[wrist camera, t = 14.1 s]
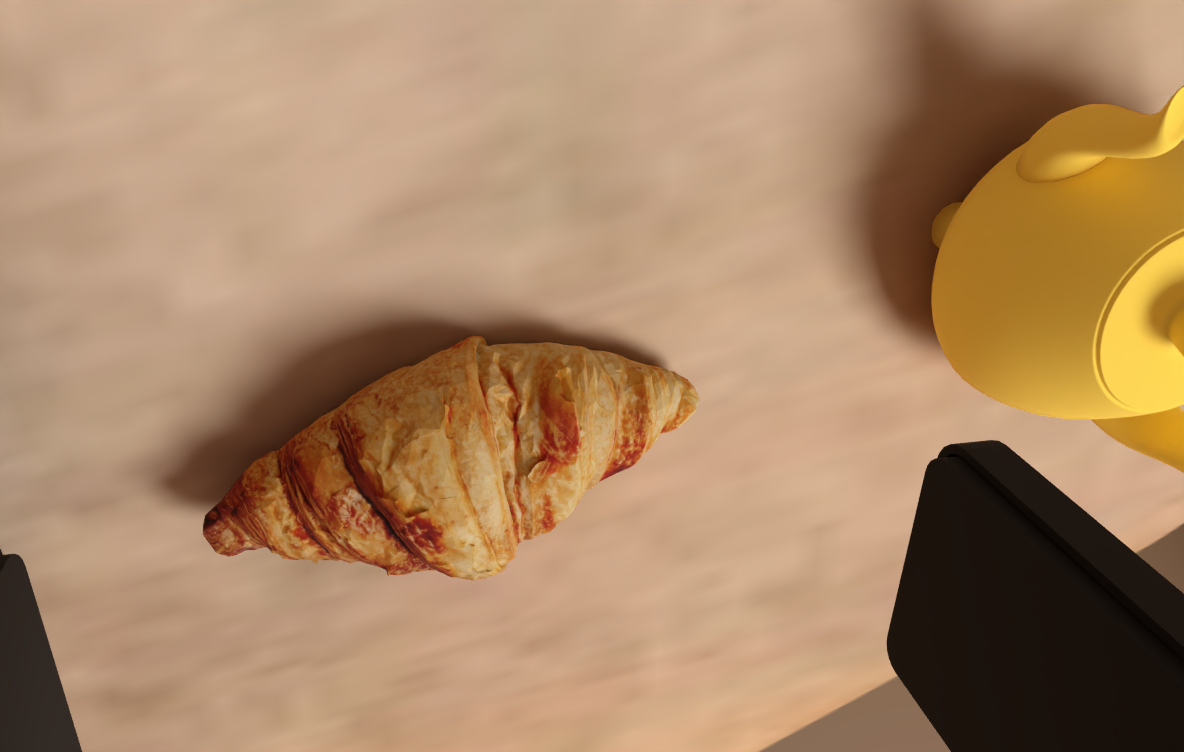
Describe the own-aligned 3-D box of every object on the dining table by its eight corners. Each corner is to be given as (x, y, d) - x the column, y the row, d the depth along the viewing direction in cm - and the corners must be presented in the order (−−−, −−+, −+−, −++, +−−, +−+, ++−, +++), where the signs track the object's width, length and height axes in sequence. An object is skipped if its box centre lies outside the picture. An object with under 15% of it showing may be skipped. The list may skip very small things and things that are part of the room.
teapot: (1199, 324, 49) (1424, 426, 38) (954, 466, 49) (1114, 605, 39) (1140, -50, 39) (1418, -45, 29) (834, 127, 39) (1006, 194, 29)
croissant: (649, 292, 44) (691, 265, 36) (710, 495, 44) (765, 512, 36) (198, 422, 41) (136, 423, 33) (263, 640, 41) (217, 694, 33)
